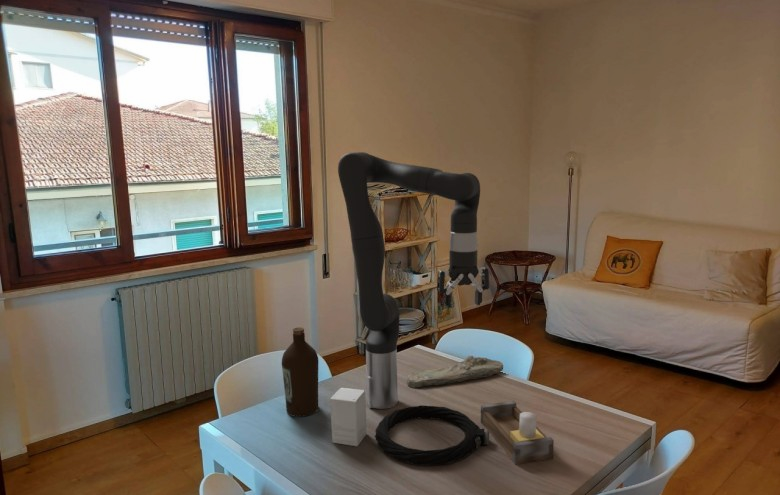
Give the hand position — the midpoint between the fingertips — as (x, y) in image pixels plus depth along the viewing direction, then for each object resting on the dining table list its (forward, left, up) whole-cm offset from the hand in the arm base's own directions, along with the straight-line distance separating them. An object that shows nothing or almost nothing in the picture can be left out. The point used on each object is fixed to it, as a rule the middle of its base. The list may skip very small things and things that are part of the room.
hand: (462, 305), depth 154 cm
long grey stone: (+8, +27, -34) cm, 44 cm away
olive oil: (-44, +17, -33) cm, 58 cm away
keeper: (+9, -22, -31) cm, 39 cm away
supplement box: (-33, -3, -33) cm, 47 cm away
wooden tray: (+9, -15, -33) cm, 37 cm away
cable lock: (-12, -9, -34) cm, 37 cm away
